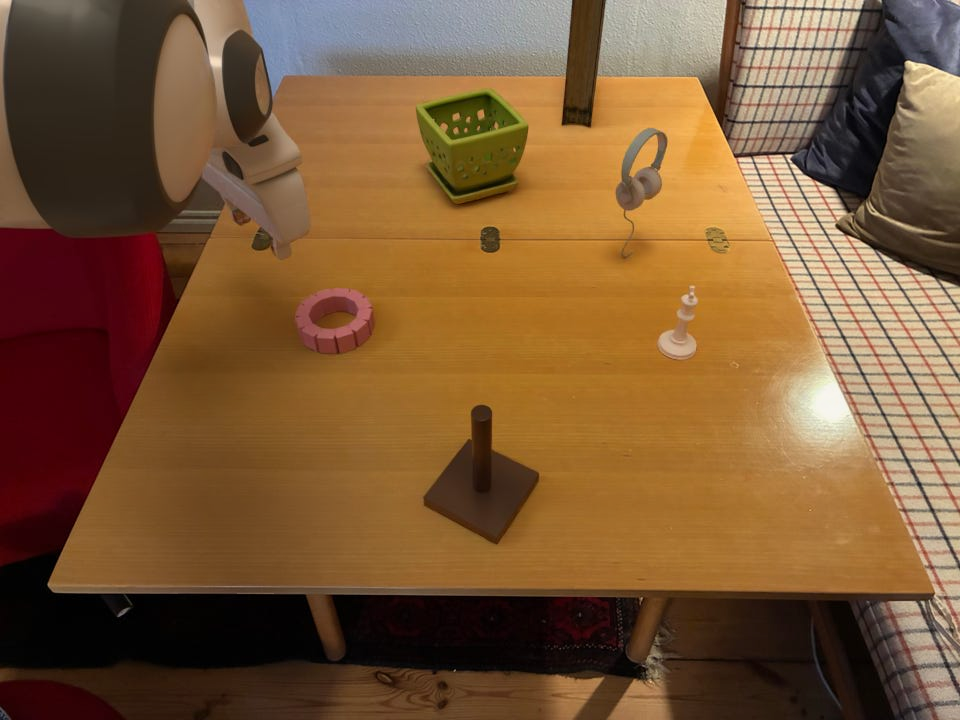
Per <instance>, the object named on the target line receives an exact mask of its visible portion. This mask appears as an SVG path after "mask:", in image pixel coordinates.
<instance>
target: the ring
mask: <svg viewBox="0 0 960 720" xmlns="http://www.w3.org/2000/svg"><path fill="white" fill-rule="evenodd" d="M336 312H338V313H339V312H341V313H348V314H351V315H353V316H355V318H354V319H353V320H352V321H350V322H349V323H348V324H346V325H343V326H340V327H336V328H323V327H321V326H318V325H317V324H316V323H317V322H318V321H319V320H320V319H321V318H322V317H324V316H326V315H329V314H333V313H336ZM294 316H295V318H294V320H295V325H296V327H297V331H298V335H299V337H300V340H301V342H302V344H304V346H305V347H306V348H309V349H310V350H312V351H314V352H316V353H318V352H319V353H320V354H330V355H331V354H332V355H336V354H338V353H339V354H344V353H346V352H350V351H353V350H356V349H357V347H361V346H362V345H363V344H365V342H367V340H369V339H370V338H371V336H372V335H373V331H374V328H375V323H376V322H375V317H374V310H373V306H372V304H371V302H370V300H369V298H368V296H366V295H365V294H364V293H362V292H361V291H358V290H356V289H351V288H349V287H333V289H332V287H330V288H325V289H323V290H319V291H316V292H315V293H312V294H310V295H309V296H308V297H306V298H305V299H304V300H302V301H301V302H300V304H298V307H297V310H296V312H295V314H294Z"/></svg>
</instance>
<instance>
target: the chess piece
mask: <svg viewBox="0 0 960 720" xmlns="http://www.w3.org/2000/svg"><path fill="white" fill-rule="evenodd" d="M688 290H689V292H688V293H687V294H684V295H682V296H681V298H680V303H681V308H679V309H677V312H676V317H678V319H679V320H678V323H677V325H676V327H675V329H669V330H666V331H664V332H662V333H661V334H660V335H659V337H658V340H657V344H656V345H657V349H658V350H659V352H660V353H661V354H662V355H664V356H665V357H667V358H669V359H673V360H678V361H683V360H688V359H691V358H692V357H694V355H695V354H696V352H697V341H696V339H695V338H694V337H693V336H692V335H691V334H690V333H688V324H689V322H690V321H692V320H693V319H695V312H694V311H693V310H694V308H696V306H697V305H698V303H699V299H698V297H697V296H695V290H696V285H690V286H689V289H688Z"/></svg>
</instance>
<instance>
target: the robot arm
mask: <svg viewBox="0 0 960 720" xmlns="http://www.w3.org/2000/svg"><path fill="white" fill-rule="evenodd" d="M273 99H274V98H273V91H272V86H271V81H270V77H269V73H268V68H267V63H266V59H265V54H264V49H263V47H262V46H261V45H260V44H259V43H258V42H257V41H256V39H255V35H254V32H253V29H252V25H251V22H250V19H249V15H248V11H247V9H246V6H245V4H244V0H0V228H2V229H3V228H4V229H5V228H6V229H7V228H8V229H25V230H26V229H27V230H29V229H31V230H32V229H33V230H37V229H38V230H39V229H40V230H41V229H42V230H44V229H46V230H47V229H48V230H49V229H50V230H51V229H52V230H53V231H55V232H56V233H57V234H59V235H61V236H64V237H66V238H70V239H101V238H117V237H118V238H119V237H120V238H121V237H131V236H138V235H139V236H140V235H147V234H151V233H155V232H160V231H162V230H163V229H164V228H166V227H167V226H168V225H169V224H170V223H171V222H172V221H174V220H175V219H176V218H177V217H178V216H179V215H180V214H181V213H182V212H183V211H185V210H186V209H187V207H189V206H190V204H191V203H192V201H193V200H194V198H195V196H196V194H197V191H198V189H199V186H200V183H201V180H203V181H205V182H206V183H207V184H208V185H209V186H211V187H212V188H213V189H214V190H216V192H218V193H219V195H220V197H221V199H222V200H223V202H224V204H225V206H226V208H227V209H228V210H229V213H230V216H231V220H232V221H233V222H235V223H236V224H237V225H238V226H241V227H242V226H244V225H246V224H248V223H250V222H251V220H252V221H253V222H254V223H256V225H257V226H259V227H260V228H261V229H262V230H264V231H265V232H266V233H268V235H269V236H270V237H271V238H272V242H270V243H269V246H270V250H271V253H272V255H274V256H275V257H276V258H277V259H278V260H279V261H284V260H286V259H288V258H291V256H292V254H293V250H292V247H291V246H292V245H291V243H293V242H295V241H298V240H300V239H302V238H304V237H306V236H307V235H308V234H309V233H310V230H311V228H312V220H311V219H312V218H311V212H310V207H309V201H308V196H307V190H306V187H305V183H304V180H303V176H302V175H301V172H300V171H299V169H298V168H297V167H299V166H300V165H302V163H303V157H302V153H301V150H300V148H299V146H298V144H297V143H296V142H295V141H294V140H293V138H291V137H290V135H289V134H288V133H287V131H286V130H285V129H284V128H283V127H282V125H281V124H280V122H279V120H278V118H277V116H276V114H275V113H274V112H273V107H274V106H273V105H274V100H273Z"/></svg>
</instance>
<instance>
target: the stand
mask: <svg viewBox="0 0 960 720" xmlns="http://www.w3.org/2000/svg"><path fill="white" fill-rule="evenodd" d="M470 424H471V425H470V427H471V428H470V429H471V430H470V433H471V438H467V440H466V441H465V442H464V444H463V445H462V446H461V447H460V449H459V450H458V451H457V452H456V454H455V455H454V457H453V458H452V459H451V461H450V462H449V463H448V464H447V466H446V467H445V469H444V470H443V471H442V472H441V474H440V475H439V476H438V478H437V479H436V480H435V481H434V483H433V484H432V485H431V486H430V487H429V489H428V490H427V492H426V493H425V494H424V496H423V497H422V499H423V505H424V506H426V507H427V508H429V509H432V510H433V511H435V512H437V513H439V514H440V515H442V516H444V517H446V518H448V519H450V520H452V521H453V522H455V523H457V524H458V525H461V526H463V527H464V528H466V529H468V530H469V531H471V532H473V533H475V534H476V535H479V536H481V537H482V538H484V539H486V540H488V541H489V542H491V543H494V544H495V545H498V543H499V542H500V541H501V540H502V538H503V536H504V534H505V533H506V531H507V530H508V528H509V527H510V525H511V524H512V523H513V521H514V519H515V517H516V516H517V515H518V513H519V512H520V510H521V508H522V507H523V506H524V504H525V502H526V501H527V499H529V496H530V495H531V493H532V492H533V490H534V488H535V487H536V486H537V485H538V483H539V481H540V472H539V471H536V470H535V469H532V468H530V467H528V466H526V465H524V464H522V463H520V462H518V461H516V460H514V459H511V458H510V457H508V456H506V455H503V454H501V453H499V452H498V451H495V450H493V409H492V408H491V407H490V406H488V405H486V404H477V405H475V406H473V407H472V408H471V410H470Z"/></svg>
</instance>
